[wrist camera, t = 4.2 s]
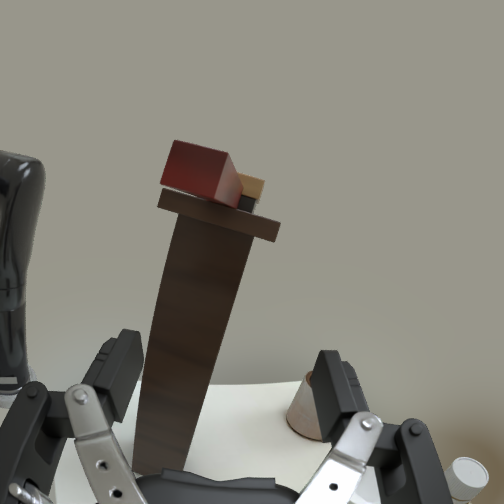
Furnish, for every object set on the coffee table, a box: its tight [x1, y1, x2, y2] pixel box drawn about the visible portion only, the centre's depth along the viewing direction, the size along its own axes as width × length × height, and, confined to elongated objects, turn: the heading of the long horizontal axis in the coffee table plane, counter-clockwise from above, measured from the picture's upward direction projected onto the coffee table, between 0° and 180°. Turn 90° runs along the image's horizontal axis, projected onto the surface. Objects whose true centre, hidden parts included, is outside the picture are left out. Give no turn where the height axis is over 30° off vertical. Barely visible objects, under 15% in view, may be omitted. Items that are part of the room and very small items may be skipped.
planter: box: [287, 371, 322, 440], centre depth 46 cm, size 11×11×10 cm
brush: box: [160, 140, 265, 214], centre depth 20 cm, size 19×5×3 cm, turn 179°
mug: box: [348, 466, 381, 504], centre depth 22 cm, size 14×10×11 cm
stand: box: [132, 188, 281, 476], centre depth 26 cm, size 8×9×33 cm
